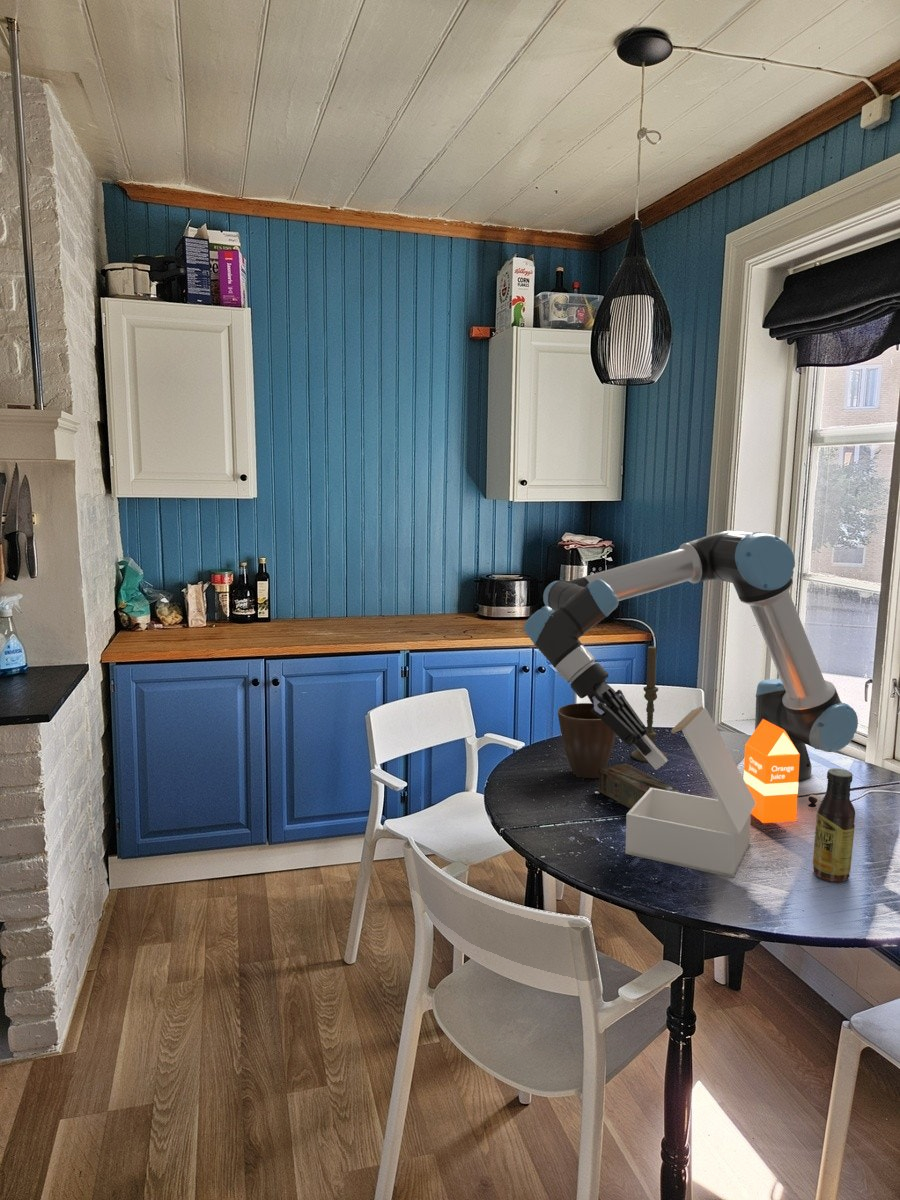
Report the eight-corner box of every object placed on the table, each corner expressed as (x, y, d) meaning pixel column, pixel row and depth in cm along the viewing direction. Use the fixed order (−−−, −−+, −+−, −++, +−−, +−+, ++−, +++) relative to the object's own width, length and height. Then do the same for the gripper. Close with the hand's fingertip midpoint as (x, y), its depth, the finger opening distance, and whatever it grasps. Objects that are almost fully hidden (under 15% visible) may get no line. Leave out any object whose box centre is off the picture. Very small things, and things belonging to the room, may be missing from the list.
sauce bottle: (805, 868, 151) (811, 765, 148) (838, 867, 151) (844, 764, 148) (824, 885, 144) (831, 778, 141) (858, 884, 145) (865, 776, 142)
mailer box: (625, 853, 157) (626, 814, 156) (649, 824, 171) (650, 787, 170) (733, 877, 147) (734, 835, 146) (749, 844, 161) (751, 805, 160)
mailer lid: (670, 731, 150) (683, 726, 148) (692, 710, 164) (704, 704, 162) (725, 838, 147) (739, 834, 145) (743, 807, 161) (756, 803, 160)
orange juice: (762, 823, 171) (767, 731, 168) (741, 807, 180) (745, 719, 177) (797, 820, 172) (802, 729, 170) (774, 804, 181) (778, 717, 178)
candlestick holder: (670, 762, 209) (674, 647, 205) (635, 762, 209) (638, 647, 205) (662, 751, 218) (665, 641, 214) (627, 751, 218) (630, 641, 214)
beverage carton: (650, 822, 172) (651, 792, 172) (596, 792, 189) (596, 765, 189) (680, 815, 176) (680, 786, 175) (623, 787, 193) (624, 760, 192)
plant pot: (578, 788, 191) (579, 722, 189) (545, 768, 205) (546, 706, 203) (630, 779, 197) (632, 714, 195) (596, 760, 211) (597, 700, 209)
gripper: (581, 677, 173) (657, 766, 167) (558, 690, 162) (638, 786, 156) (606, 655, 170) (684, 745, 164) (583, 667, 158) (666, 764, 152)
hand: (661, 765), depth 160 cm, fingers closed
